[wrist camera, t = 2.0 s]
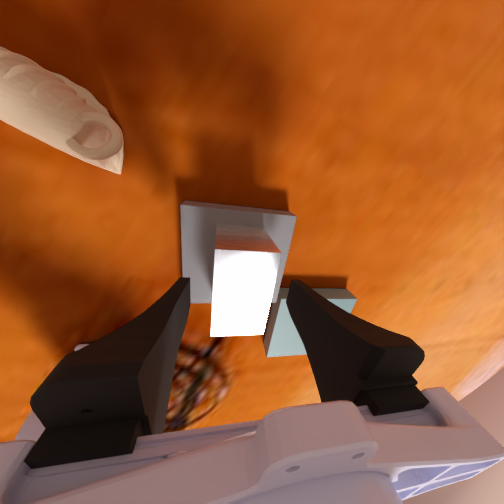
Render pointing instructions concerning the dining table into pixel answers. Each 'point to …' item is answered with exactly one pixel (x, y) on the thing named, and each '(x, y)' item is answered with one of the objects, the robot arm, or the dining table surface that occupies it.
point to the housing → (242, 280)
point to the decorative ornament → (58, 112)
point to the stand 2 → (283, 329)
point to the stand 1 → (204, 235)
